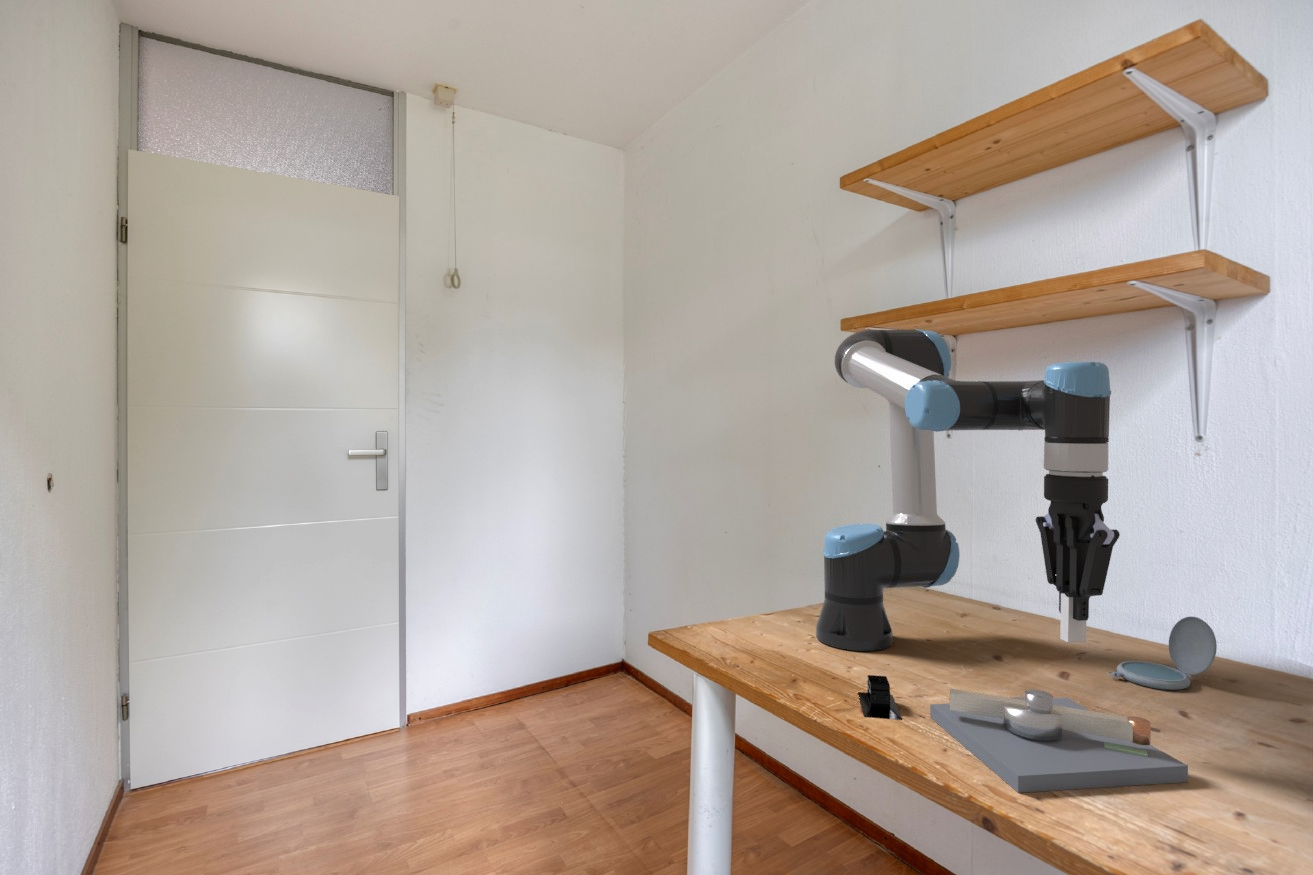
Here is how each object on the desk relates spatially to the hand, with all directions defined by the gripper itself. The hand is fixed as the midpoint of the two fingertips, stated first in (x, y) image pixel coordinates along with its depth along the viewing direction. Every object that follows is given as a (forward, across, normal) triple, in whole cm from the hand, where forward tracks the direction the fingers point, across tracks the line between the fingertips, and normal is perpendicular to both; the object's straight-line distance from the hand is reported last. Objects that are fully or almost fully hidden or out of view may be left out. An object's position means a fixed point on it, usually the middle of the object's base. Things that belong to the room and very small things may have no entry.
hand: (1073, 640), depth 89 cm
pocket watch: (+14, +17, -28) cm, 36 cm away
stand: (+13, -3, +6) cm, 15 cm away
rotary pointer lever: (+11, -3, +6) cm, 13 cm away
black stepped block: (+15, +12, +23) cm, 30 cm away
